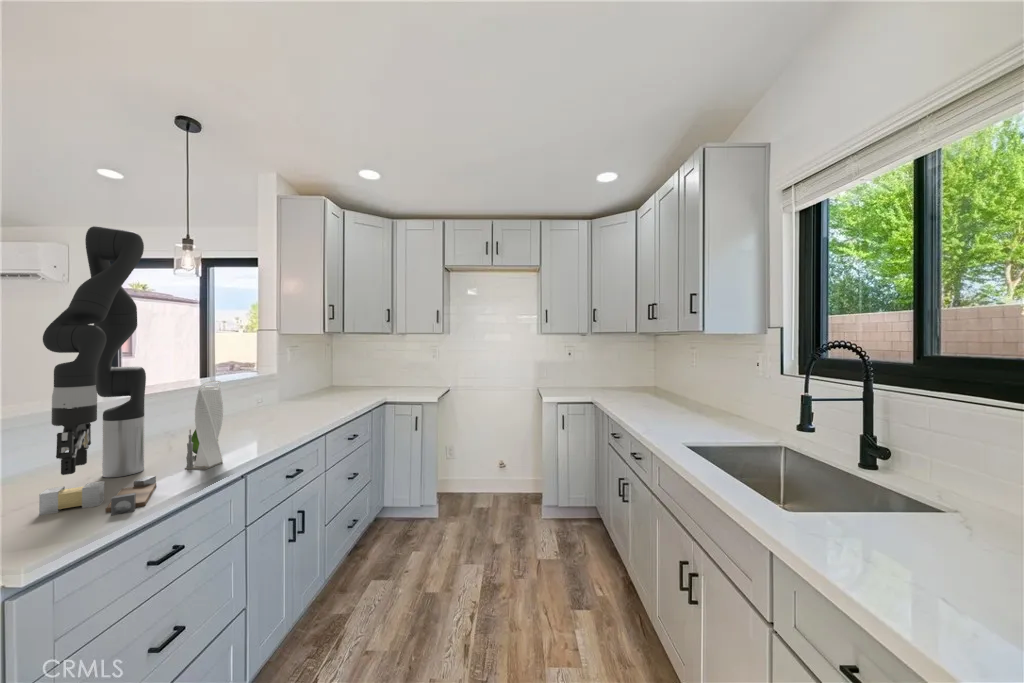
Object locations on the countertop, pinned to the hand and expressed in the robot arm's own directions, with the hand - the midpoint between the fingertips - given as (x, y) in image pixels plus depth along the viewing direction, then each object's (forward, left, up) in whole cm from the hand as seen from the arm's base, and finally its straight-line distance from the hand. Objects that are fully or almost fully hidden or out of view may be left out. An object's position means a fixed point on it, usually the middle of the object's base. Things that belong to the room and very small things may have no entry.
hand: (74, 469), depth 96 cm
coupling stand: (+1, +11, -10) cm, 14 cm away
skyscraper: (-22, +25, -10) cm, 35 cm away
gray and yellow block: (0, 0, -10) cm, 10 cm away
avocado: (-38, +23, -10) cm, 46 cm away
